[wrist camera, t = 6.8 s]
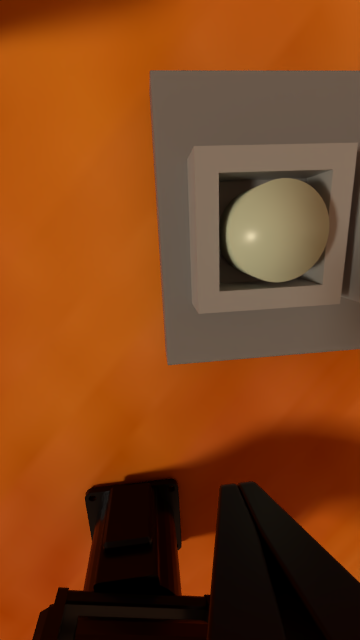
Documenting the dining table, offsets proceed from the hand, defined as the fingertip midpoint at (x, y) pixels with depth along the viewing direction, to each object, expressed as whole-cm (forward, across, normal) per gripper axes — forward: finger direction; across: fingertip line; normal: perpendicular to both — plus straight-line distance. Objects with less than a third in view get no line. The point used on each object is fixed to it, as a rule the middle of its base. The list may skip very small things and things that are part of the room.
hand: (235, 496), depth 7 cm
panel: (+12, -12, -6) cm, 18 cm away
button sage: (+10, -4, -6) cm, 12 cm away
